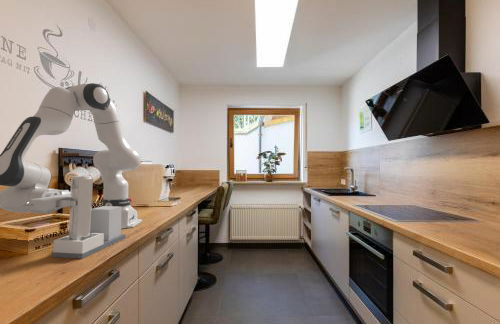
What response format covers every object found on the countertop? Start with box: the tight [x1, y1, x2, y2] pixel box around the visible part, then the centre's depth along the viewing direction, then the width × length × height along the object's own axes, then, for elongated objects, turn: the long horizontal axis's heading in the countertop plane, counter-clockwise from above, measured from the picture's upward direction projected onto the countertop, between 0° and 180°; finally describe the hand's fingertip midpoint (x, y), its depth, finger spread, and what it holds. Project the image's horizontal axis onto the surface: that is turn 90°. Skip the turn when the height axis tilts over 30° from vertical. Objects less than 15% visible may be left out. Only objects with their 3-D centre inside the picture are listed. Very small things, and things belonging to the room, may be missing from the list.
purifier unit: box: [51, 205, 127, 260], centre depth 97 cm, size 24×11×14 cm, turn 174°
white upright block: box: [68, 175, 94, 241], centre depth 90 cm, size 6×6×25 cm
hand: (83, 201), depth 90 cm, fingers closed on white upright block, 5 cm apart
